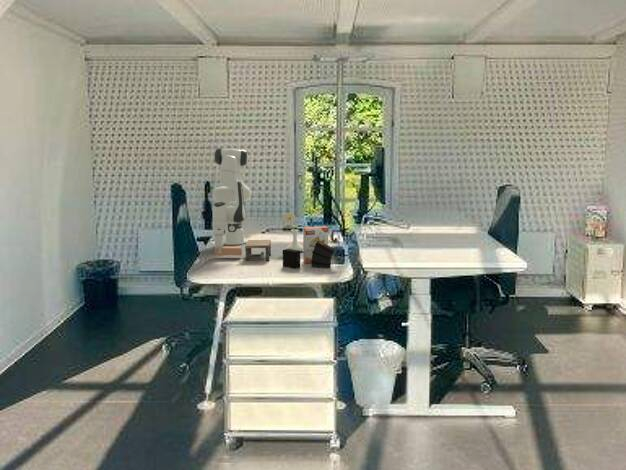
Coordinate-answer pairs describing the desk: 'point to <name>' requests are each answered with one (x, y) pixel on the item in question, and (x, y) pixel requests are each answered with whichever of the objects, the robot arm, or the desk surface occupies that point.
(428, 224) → the desk surface
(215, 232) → the robot arm
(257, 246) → the small wooden table
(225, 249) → the brown wooden block
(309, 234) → the cracker box
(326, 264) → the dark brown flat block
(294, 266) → the electronic device
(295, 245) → the flower in vase
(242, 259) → the desk surface
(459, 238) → the desk surface
